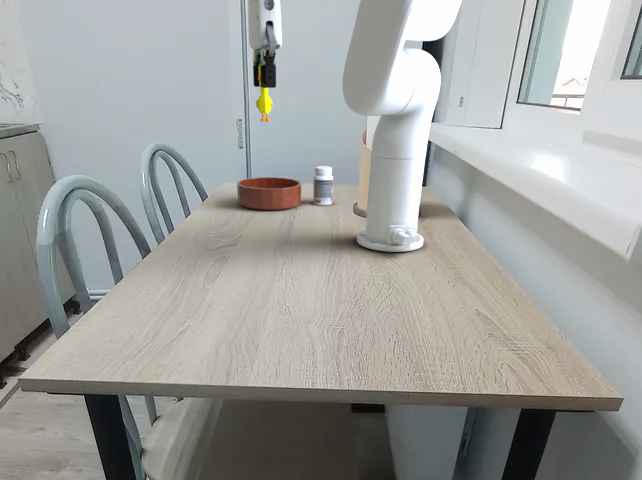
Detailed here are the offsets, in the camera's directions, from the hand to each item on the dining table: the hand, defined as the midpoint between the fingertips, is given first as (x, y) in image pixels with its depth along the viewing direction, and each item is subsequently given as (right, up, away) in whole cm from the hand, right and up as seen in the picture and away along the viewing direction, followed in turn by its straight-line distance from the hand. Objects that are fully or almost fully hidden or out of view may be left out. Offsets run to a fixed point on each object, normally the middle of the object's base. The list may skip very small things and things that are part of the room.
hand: (264, 86), depth 113 cm
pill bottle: (+13, -19, +17) cm, 29 cm away
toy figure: (0, -6, +4) cm, 7 cm away
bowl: (0, -20, +15) cm, 25 cm away
